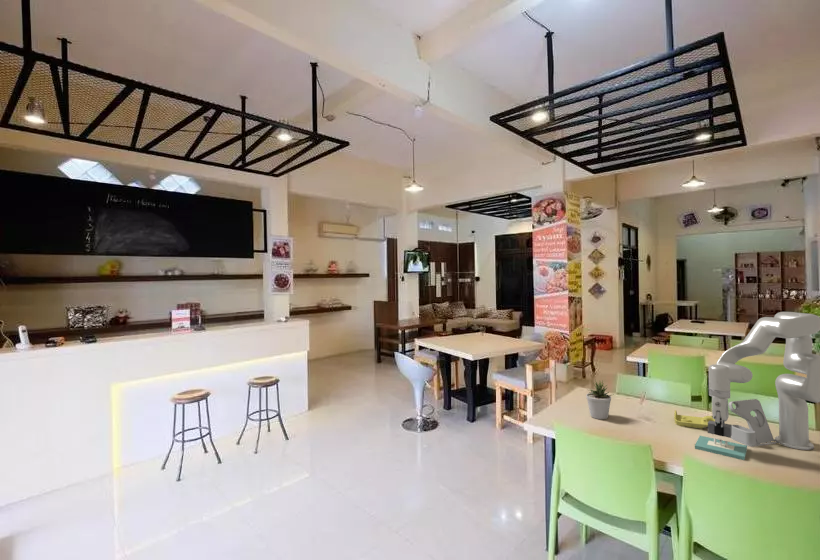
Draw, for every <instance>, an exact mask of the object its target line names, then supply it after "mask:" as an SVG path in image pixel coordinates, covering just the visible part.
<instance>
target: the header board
mask: <svg viewBox="0 0 820 560" xmlns="http://www.w3.org/2000/svg"><path fill="white" fill-rule="evenodd" d="M695 442H696V443H694V449H695V450H700V451H702V452H703V451H704V452H708V453H711V454H716V455H720V456H724V457H728V458H729V457H730V458H733V459H737V460H740V461H741V460H743V461H745V459H746V456H747V452H748V446H747V445H745V444H742V443H736V442H733V441H727V440H722V439H719V438H713V437H710V436H704V435H699V436H698V439H697V440H696V441H695Z"/></svg>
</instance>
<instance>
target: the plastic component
mask: <svg viewBox="0 0 820 560" xmlns="http://www.w3.org/2000/svg"><path fill="white" fill-rule="evenodd" d="M673 413H674V414H673V419H674V423H675V425H677V426H679V427H685V426H686V427H685V428H693V429H704V428H708V422H709V420H710V421H715V419H713V415H705V416H703V417H702V416H694V415H693V416H692V415H683V414H678V412H677V410H674V412H673Z"/></svg>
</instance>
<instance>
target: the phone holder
mask: <svg viewBox="0 0 820 560" xmlns="http://www.w3.org/2000/svg"><path fill="white" fill-rule="evenodd" d="M733 405H734V406H735V408H734V407H733ZM728 410H730V412H731V413H733V414H735V415H737V416H738V417H740V418H742V419H743V420H745V421H746V423H747V426H748V428H747V427H744V426H742V425H739V424H731V425H732V436H731V438H730V439H731V440H733V441H735V442H738V443H739V444H742V445H747V447H752V448H754V447H755V448H756V447H762V446H769V445H777V444H776V443H778V442H771V441H775V438H774V436H773V433H772V430H771V429H770V425H769V423H768V420H767V418H766V414H765V411H764V410H763V407H762V404H761V402H760V400H758V399H757V398H756V399H755V398H752V399H751V398H750V399H743V400H740V399H739V400H734V401H733V400H732V401H728ZM752 411H753V412H754V413H755V416H753V415H752ZM766 442H767V443H766ZM778 444H779V443H778Z"/></svg>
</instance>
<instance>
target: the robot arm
mask: <svg viewBox="0 0 820 560" xmlns="http://www.w3.org/2000/svg"><path fill="white" fill-rule="evenodd" d="M818 332H820V317H819V316H818V315H816V314H813V313H806V312H805V313H804V312H794V311H780V312H779V311H778V312H777V313H776V314H774V316H773V317H772V316H764V317H760V318H759V319H758V320H756V322H755V323H754V325H753V326H752V328H751V329H750V331H749V332H748V334H747V335H746V336H745V338H744V339H743V340H742V341H741V342H739V343H738V344H736V345H734V346H732V347H729V348H728V349H727V350H725V351H724V352H723V353H722V354H721V355H720V356H719V358H718V359H717V361H716V363H715V364H710V365H709V366H708V396H710V397H711V407H712V408H711V413H712V415H711V416H713V419H715V425H714V433H715V434H714V435H715V436H719V437H724V427H723V423H725V422H727V421H728V419H729V416H730V415H729V405H728V404H729V399H731V383H737V384H746V383H749V382H750V381H752V379H753V372H752V371H751V369H750V368H749V367H746V366H743V365H740V364H736V363H738V361H740V360H742V359H744V358H747V357H754V356H758V355H759V356H760V355H762V354H764V353H766V351H767V350H768V348H769V347H770V345H771V344H772V343H773V341H774V340H775V339H776V338H782V339H785V347H784V354H783V363H782V365H783V366H784V368H785V369H787V370H789V371H791V372H795V373H798V374H802V375H806V377H804V376H801V375H796V374H793V373H781V374H779V375H778V376H777V377H776V379H775V381H774V383H775V384H774V385H775V389H776V393H777V397H778V399H777V400H778V426H779V427H778V430H779V432H778V433H779V435H777V436H775V437H774V439H775V441H776V442H778V444H780V445H781V446H784V447H787V448H791V449H795V450H801V451H802V450H803V451H811V450H814V448H815V446H814V444H813V443H812V442H810V437H809V436H810V435H809V434H810V433H809V432H810V431H809V430H810V429H809V405H808V403H807V401H808V402H812V403H820V354H817V353H813V339H812V337H811V335H815V334H816V333H818ZM725 424H726V423H725Z"/></svg>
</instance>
